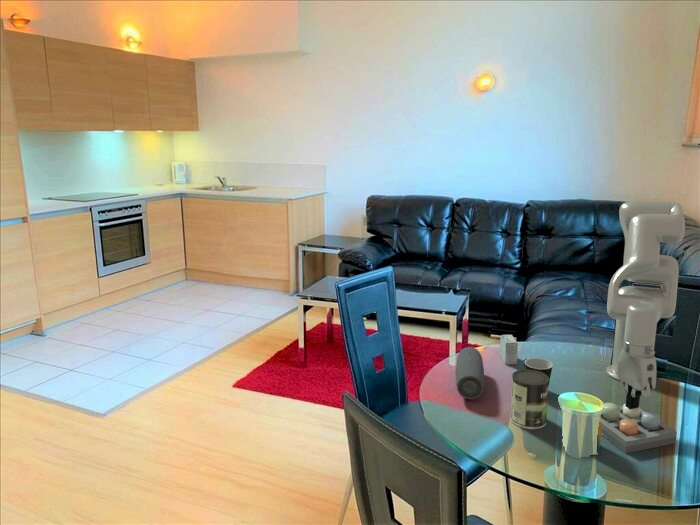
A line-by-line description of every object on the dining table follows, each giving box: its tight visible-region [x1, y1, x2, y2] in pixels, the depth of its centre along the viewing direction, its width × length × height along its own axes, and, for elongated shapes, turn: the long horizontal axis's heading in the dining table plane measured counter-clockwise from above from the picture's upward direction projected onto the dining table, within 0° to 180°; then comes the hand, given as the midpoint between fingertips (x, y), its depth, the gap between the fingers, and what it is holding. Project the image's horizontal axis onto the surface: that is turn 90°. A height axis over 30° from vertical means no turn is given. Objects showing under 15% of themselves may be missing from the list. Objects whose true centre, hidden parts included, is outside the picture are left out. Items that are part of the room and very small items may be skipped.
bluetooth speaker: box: [454, 346, 485, 400], centre depth 180 cm, size 23×9×10 cm, turn 168°
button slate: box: [641, 410, 661, 430], centre depth 148 cm, size 4×4×3 cm
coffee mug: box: [523, 357, 554, 383], centre depth 177 cm, size 12×9×10 cm
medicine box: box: [499, 334, 519, 366], centre depth 199 cm, size 8×4×9 cm, turn 179°
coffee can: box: [510, 368, 551, 430], centre depth 158 cm, size 10×10×14 cm
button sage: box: [602, 402, 620, 421], centre depth 153 cm, size 4×4×3 cm
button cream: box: [622, 402, 642, 419], centre depth 155 cm, size 4×4×3 cm
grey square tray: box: [600, 404, 677, 454], centre depth 151 cm, size 16×16×4 cm
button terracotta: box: [619, 419, 638, 437], centre depth 147 cm, size 4×4×3 cm
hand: (631, 407), depth 154 cm, fingers closed
